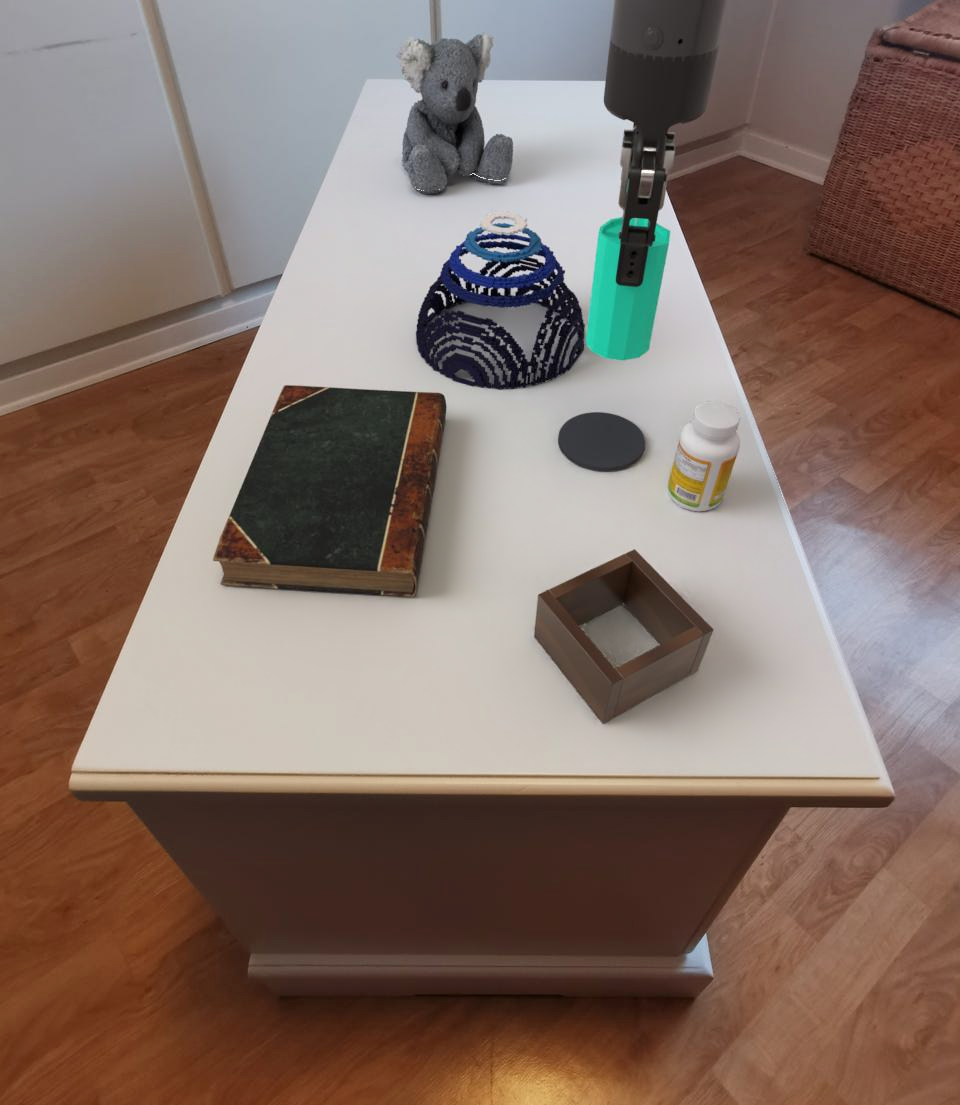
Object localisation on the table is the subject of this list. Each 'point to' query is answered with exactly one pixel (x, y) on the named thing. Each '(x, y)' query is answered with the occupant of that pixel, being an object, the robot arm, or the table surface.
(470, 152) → the koala plush
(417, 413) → the book
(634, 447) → the coaster
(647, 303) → the candle
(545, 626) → the square wooden box
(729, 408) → the supplement bottle
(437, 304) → the decorative bowl
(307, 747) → the table surface
